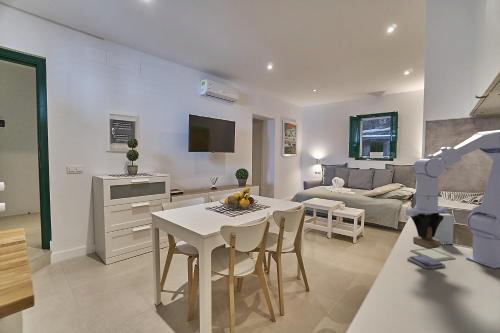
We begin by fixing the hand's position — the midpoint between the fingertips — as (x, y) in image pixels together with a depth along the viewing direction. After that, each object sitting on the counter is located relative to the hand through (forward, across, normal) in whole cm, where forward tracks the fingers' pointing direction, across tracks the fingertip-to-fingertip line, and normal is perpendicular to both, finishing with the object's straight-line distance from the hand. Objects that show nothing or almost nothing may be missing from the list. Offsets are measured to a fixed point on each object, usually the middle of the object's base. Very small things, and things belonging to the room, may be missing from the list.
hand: (426, 236), depth 75 cm
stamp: (+3, 0, 0) cm, 3 cm away
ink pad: (+9, 0, 0) cm, 9 cm away
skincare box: (+9, -26, -14) cm, 31 cm away
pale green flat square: (+9, -9, -5) cm, 14 cm away
